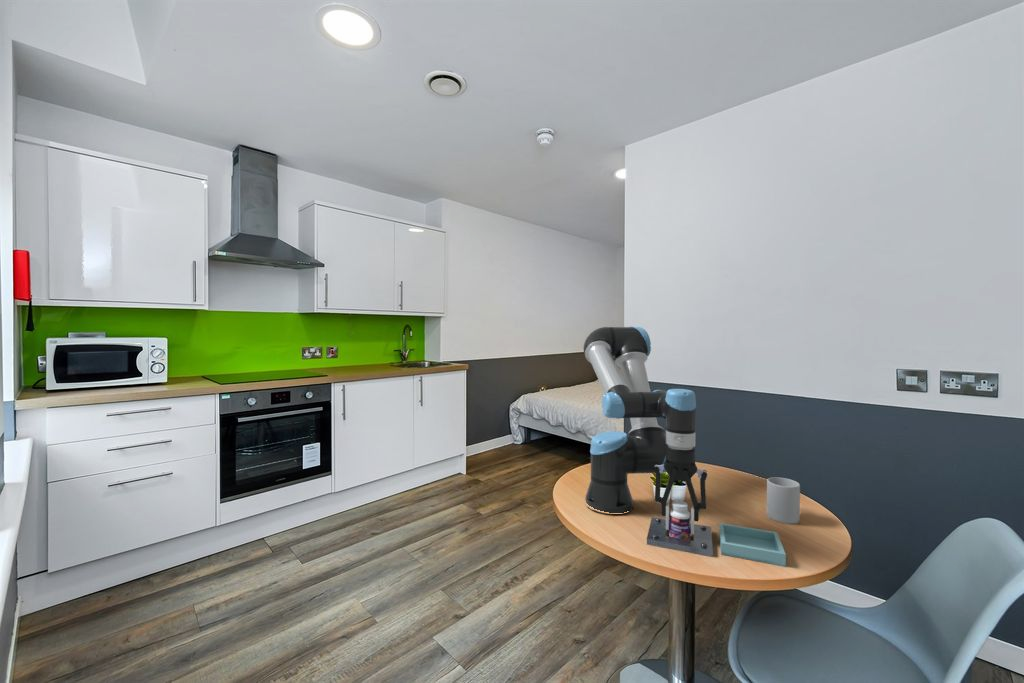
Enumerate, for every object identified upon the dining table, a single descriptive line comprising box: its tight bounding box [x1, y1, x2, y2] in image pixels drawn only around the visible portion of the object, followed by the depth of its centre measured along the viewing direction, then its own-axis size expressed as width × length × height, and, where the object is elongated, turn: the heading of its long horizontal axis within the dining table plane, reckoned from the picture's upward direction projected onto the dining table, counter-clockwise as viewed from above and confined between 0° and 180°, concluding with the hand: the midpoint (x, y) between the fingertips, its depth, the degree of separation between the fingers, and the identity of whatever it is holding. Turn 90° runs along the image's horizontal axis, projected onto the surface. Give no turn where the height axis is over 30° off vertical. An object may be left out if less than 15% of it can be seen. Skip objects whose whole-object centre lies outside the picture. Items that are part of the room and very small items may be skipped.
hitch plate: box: [646, 516, 714, 558], centre depth 117 cm, size 16×14×2 cm
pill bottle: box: [668, 499, 691, 540], centre depth 116 cm, size 5×5×10 cm
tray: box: [718, 522, 787, 567], centre depth 111 cm, size 14×12×3 cm
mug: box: [765, 476, 801, 525], centre depth 130 cm, size 12×8×11 cm
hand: (679, 529), depth 116 cm, fingers open, 6 cm apart
